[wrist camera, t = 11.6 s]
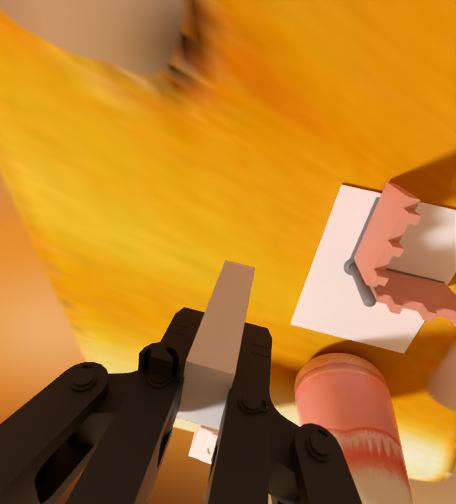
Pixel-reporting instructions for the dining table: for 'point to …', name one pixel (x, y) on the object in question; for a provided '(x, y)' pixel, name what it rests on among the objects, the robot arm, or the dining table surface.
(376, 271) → the fixed fence panel
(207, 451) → the ink box
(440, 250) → the card
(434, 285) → the folding fence panel
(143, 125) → the dining table surface
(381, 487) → the vase
